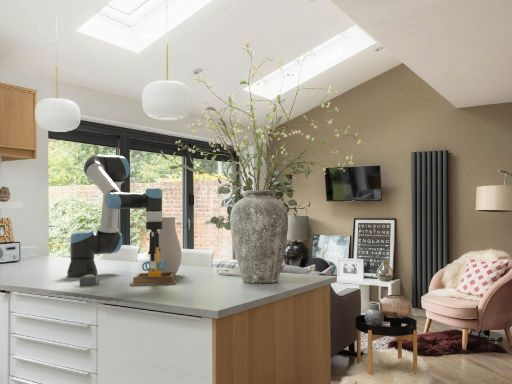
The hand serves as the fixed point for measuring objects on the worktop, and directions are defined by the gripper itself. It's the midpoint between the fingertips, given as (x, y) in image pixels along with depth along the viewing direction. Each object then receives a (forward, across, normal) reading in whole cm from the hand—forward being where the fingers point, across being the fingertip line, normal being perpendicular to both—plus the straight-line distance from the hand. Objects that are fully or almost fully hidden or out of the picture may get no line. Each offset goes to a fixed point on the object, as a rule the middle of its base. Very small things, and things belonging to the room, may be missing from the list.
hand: (154, 266), depth 238 cm
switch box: (+7, +3, -29) cm, 30 cm away
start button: (+6, +3, -29) cm, 30 cm away
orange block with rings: (+6, 0, 0) cm, 6 cm away
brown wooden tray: (+7, 0, 0) cm, 7 cm away
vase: (+7, -25, +4) cm, 26 cm away
